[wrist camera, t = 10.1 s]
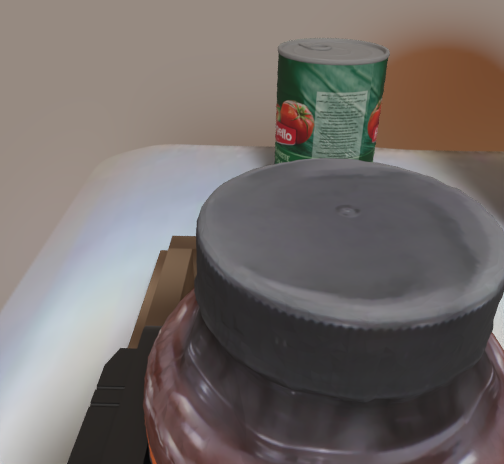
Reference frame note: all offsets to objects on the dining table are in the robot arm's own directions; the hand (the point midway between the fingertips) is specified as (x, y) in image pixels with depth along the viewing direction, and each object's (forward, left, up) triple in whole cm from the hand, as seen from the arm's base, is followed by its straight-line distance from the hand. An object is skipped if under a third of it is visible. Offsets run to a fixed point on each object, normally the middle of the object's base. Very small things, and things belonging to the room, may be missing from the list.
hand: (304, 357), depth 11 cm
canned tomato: (-24, -15, -9) cm, 30 cm away
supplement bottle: (+2, +2, -6) cm, 7 cm away
